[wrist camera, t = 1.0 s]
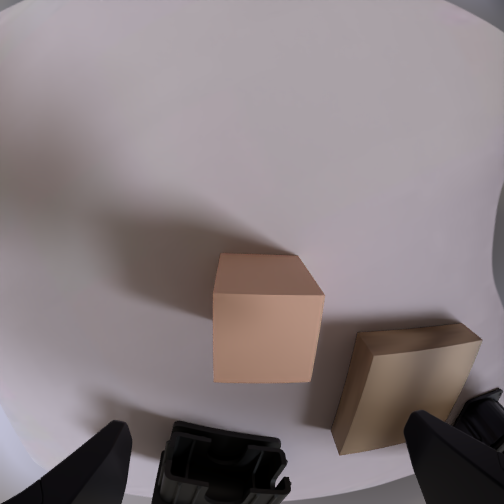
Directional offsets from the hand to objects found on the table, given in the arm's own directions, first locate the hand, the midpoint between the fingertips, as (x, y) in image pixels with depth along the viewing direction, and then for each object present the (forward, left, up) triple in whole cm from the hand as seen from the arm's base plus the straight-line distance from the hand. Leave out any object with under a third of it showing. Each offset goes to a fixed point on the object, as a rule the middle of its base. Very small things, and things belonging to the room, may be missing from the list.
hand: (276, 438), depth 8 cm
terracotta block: (0, 0, -11) cm, 11 cm away
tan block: (-12, +8, -11) cm, 18 cm away
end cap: (+2, +16, -11) cm, 20 cm away
